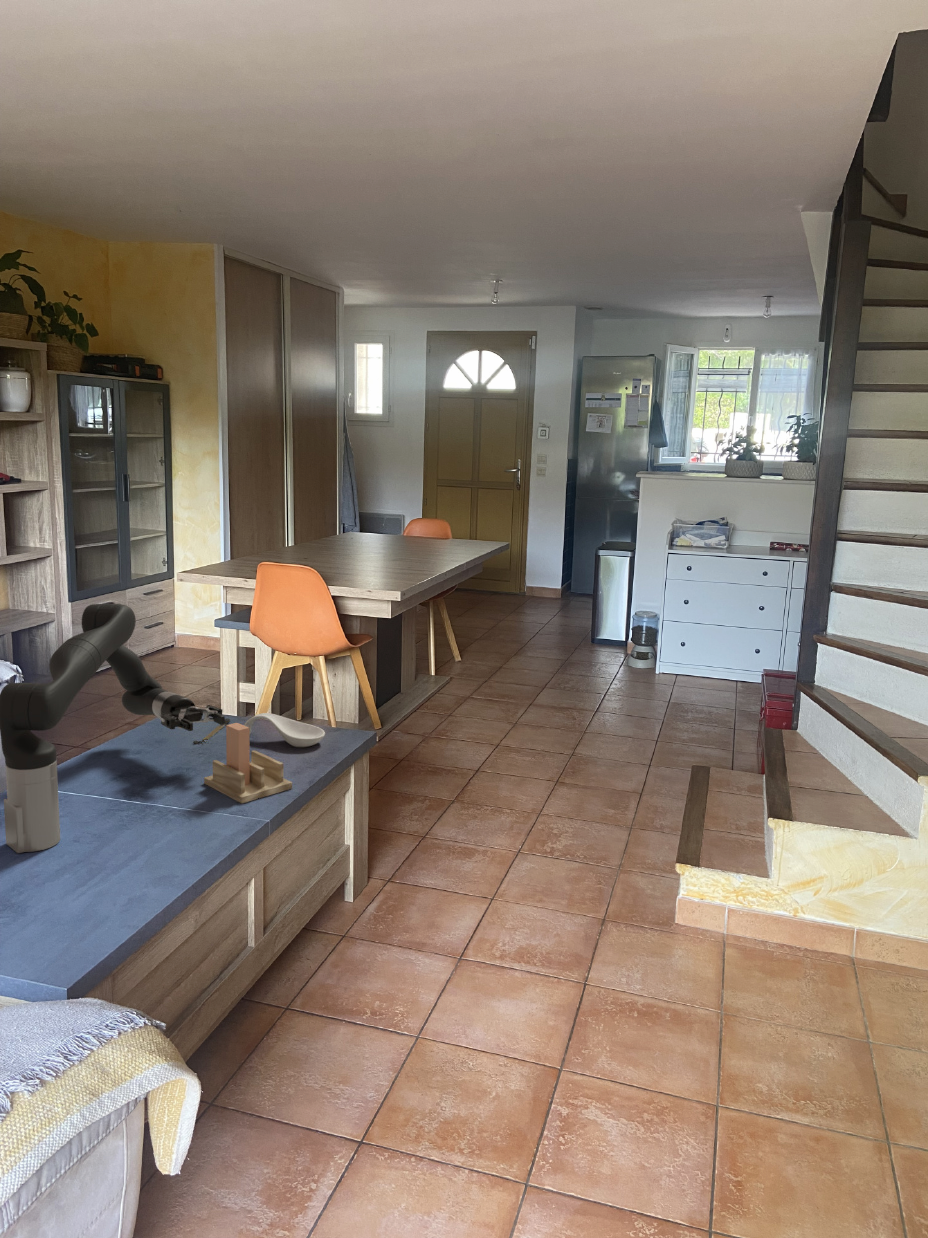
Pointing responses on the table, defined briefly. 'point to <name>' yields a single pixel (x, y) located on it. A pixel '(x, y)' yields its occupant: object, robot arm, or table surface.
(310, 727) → the spoon rest
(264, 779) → the wooden slotted stand
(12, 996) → the table surface
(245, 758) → the clay slat
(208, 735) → the tactical tomahawk
